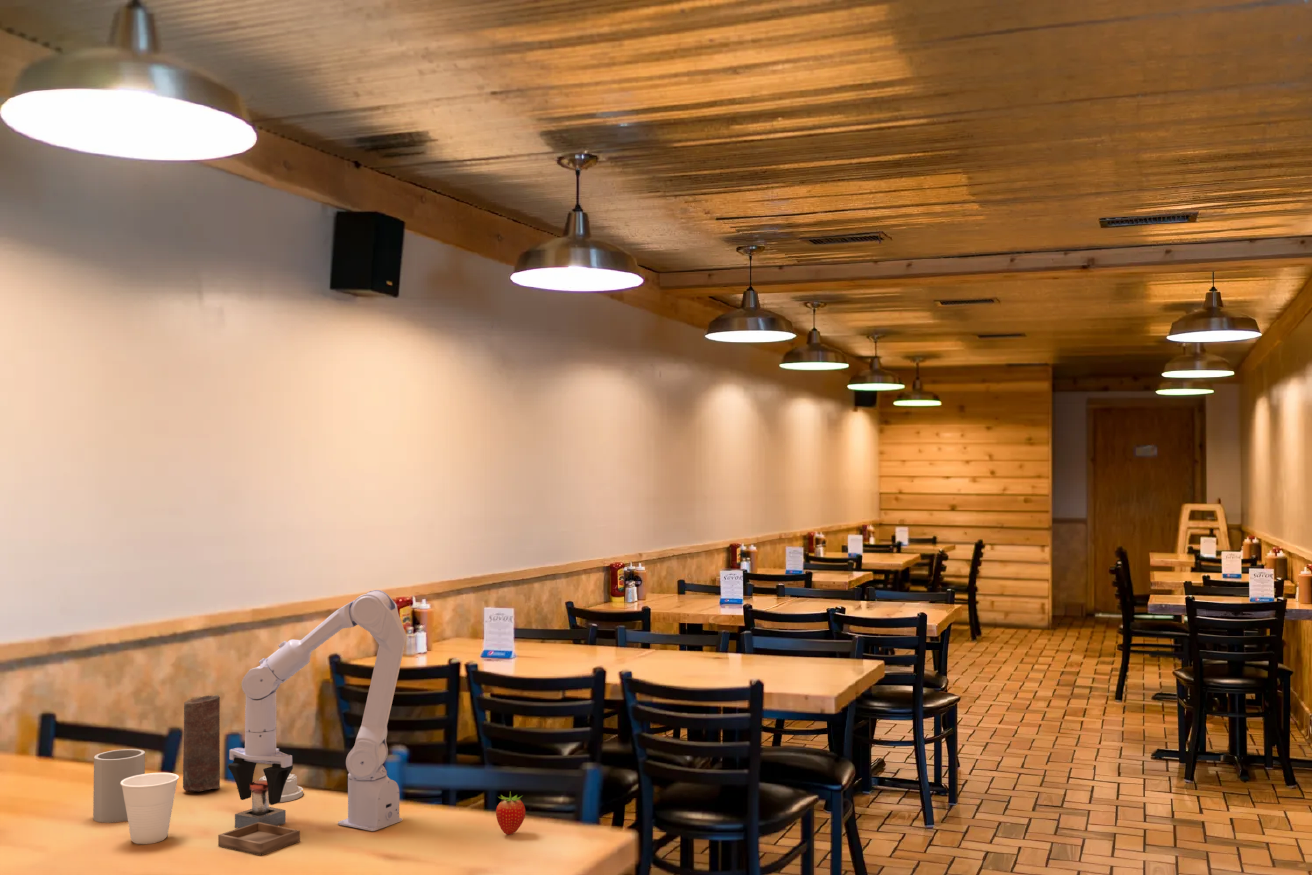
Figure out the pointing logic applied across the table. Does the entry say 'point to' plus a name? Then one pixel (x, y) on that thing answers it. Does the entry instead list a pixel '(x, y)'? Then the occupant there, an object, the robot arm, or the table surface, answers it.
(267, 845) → the tray
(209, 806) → the table surface
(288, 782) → the white rounded piece
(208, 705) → the candle
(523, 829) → the table surface
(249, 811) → the block
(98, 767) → the cup
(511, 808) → the fruit
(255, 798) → the spice jar
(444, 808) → the table surface
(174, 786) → the cup
